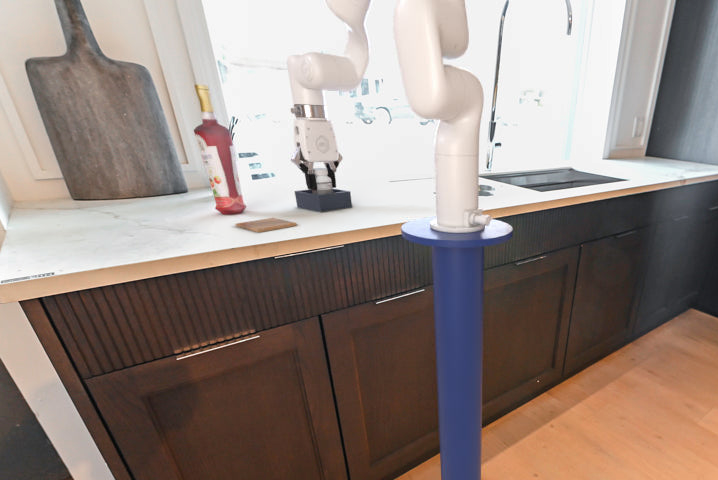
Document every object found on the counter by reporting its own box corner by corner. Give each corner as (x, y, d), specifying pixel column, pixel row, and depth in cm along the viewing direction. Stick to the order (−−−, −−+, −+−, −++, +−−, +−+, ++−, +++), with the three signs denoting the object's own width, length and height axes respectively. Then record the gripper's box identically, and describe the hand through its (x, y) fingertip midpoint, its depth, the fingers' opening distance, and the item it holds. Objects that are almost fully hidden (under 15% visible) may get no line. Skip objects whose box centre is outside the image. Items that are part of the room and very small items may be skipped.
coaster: (296, 225, 97) (296, 222, 97) (258, 232, 90) (258, 229, 90) (273, 220, 101) (273, 217, 101) (235, 226, 94) (235, 223, 94)
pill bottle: (313, 204, 119) (307, 167, 115) (334, 204, 121) (328, 167, 117) (315, 208, 115) (309, 169, 110) (336, 207, 117) (331, 169, 112)
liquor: (254, 212, 109) (226, 86, 96) (224, 216, 103) (191, 83, 91) (239, 209, 112) (210, 86, 100) (209, 212, 107) (175, 84, 94)
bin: (352, 207, 119) (350, 191, 118) (321, 212, 112) (318, 195, 110) (328, 202, 124) (326, 187, 122) (297, 207, 117) (294, 191, 115)
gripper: (289, 112, 99) (302, 193, 108) (348, 115, 112) (356, 186, 121) (270, 112, 103) (285, 190, 111) (330, 114, 116) (339, 184, 124)
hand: (322, 187), depth 116 cm, fingers closed on pill bottle, 5 cm apart
